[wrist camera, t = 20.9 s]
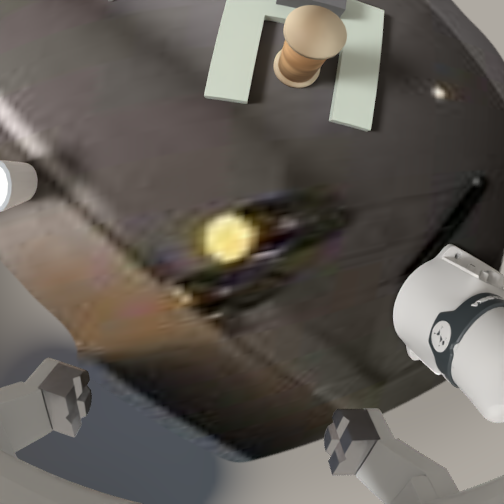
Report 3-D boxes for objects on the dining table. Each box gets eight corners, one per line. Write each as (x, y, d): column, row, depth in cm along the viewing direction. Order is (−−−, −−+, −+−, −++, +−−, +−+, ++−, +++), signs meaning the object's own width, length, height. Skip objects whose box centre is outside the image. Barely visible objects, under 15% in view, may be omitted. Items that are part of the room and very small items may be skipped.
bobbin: (321, 53, 34) (349, 13, 22) (315, 92, 35) (343, 64, 24) (277, 43, 34) (288, -1, 22) (270, 83, 35) (280, 49, 23)
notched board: (380, 14, 32) (393, 1, 28) (366, 131, 37) (380, 127, 32) (233, -20, 31) (233, -37, 26) (205, 98, 35) (200, 89, 31)
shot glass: (45, 163, 36) (15, 165, 29) (36, 211, 38) (6, 220, 31) (12, 154, 35) (-18, 155, 29) (4, 199, 37) (-25, 206, 30)
